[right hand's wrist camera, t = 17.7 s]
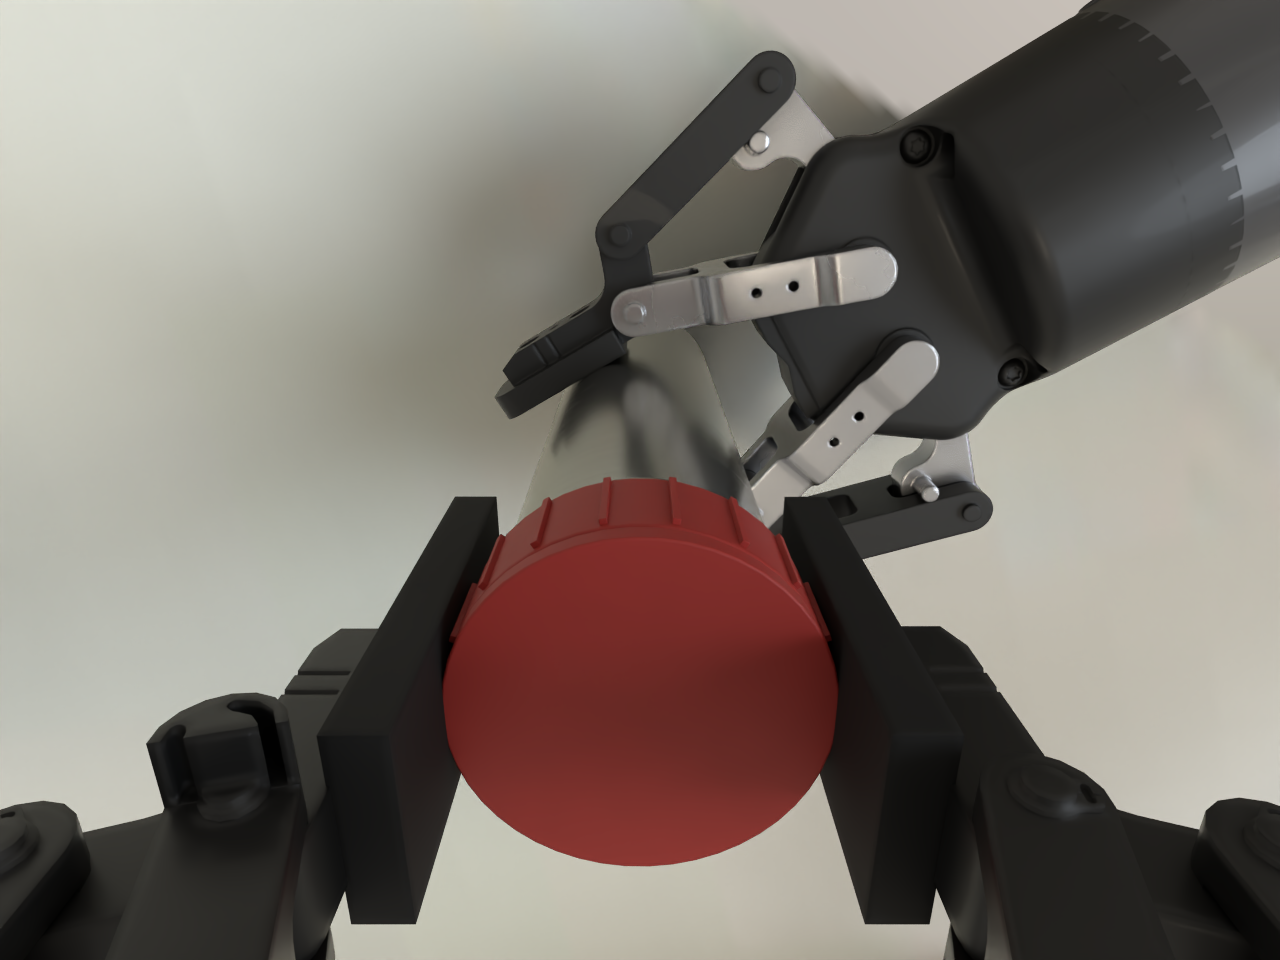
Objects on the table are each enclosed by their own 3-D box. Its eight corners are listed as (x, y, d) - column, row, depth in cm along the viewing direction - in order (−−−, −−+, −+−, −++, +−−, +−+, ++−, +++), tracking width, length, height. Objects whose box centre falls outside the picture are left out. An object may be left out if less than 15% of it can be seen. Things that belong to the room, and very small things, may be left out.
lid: (395, 616, 12) (349, 698, 10) (665, 398, 11) (671, 445, 9) (620, 820, 14) (617, 926, 12) (880, 648, 12) (924, 736, 11)
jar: (717, 320, 27) (840, 547, 10) (698, 451, 29) (777, 825, 12) (578, 305, 27) (477, 510, 10) (567, 438, 28) (466, 798, 12)
